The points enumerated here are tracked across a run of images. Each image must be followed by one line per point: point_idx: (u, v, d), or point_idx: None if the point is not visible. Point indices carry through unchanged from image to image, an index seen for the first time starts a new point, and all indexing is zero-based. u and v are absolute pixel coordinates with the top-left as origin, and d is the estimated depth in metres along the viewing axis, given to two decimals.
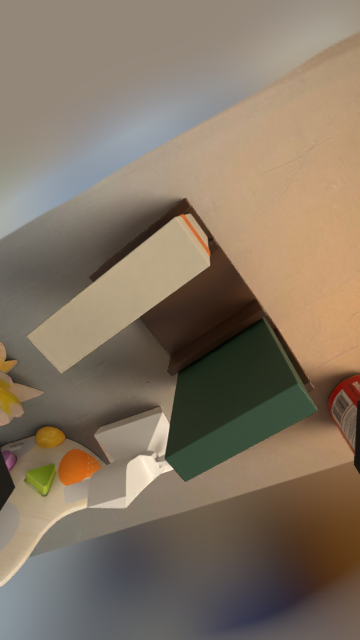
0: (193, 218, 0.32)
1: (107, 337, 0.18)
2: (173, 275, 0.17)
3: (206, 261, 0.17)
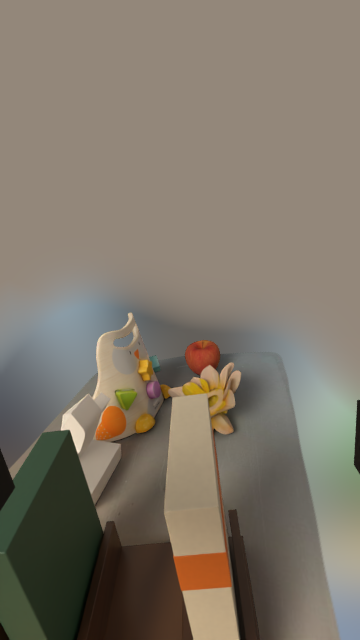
0: None
1: (171, 426, 0.24)
2: (177, 482, 0.19)
3: (168, 510, 0.17)
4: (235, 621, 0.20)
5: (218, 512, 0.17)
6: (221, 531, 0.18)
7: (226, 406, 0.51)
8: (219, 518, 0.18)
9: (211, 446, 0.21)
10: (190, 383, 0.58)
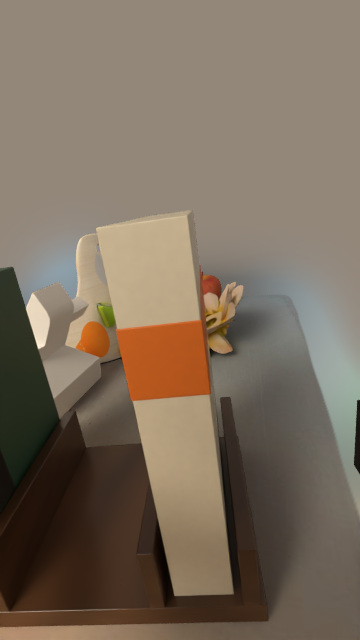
0: (219, 574, 0.15)
1: None
2: None
3: (104, 226, 0.10)
4: (216, 464, 0.13)
5: (187, 229, 0.10)
6: (193, 273, 0.11)
7: None
8: (189, 243, 0.10)
9: None
10: None
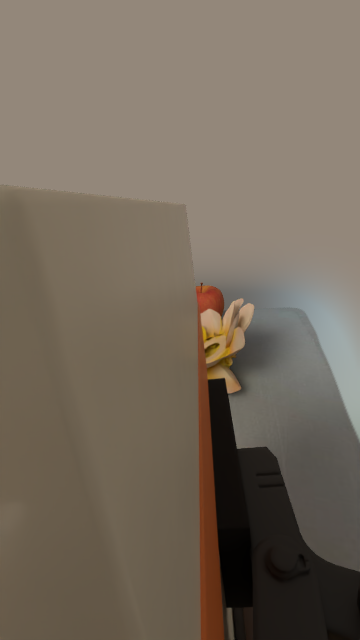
0: None
1: None
2: None
3: None
4: None
5: (41, 369, 0.01)
6: None
7: (231, 354, 0.34)
8: (81, 501, 0.01)
9: (167, 202, 0.05)
10: None
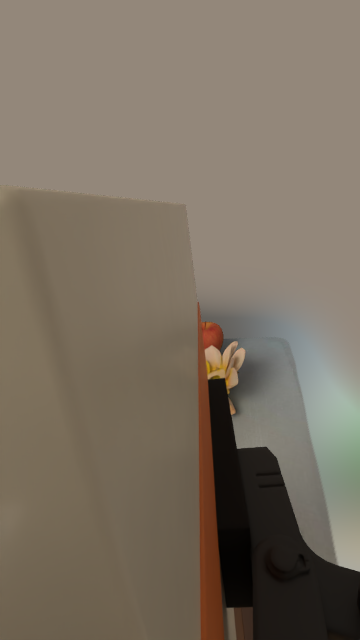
0: None
1: None
2: None
3: None
4: None
5: (41, 369, 0.01)
6: None
7: (228, 386, 0.47)
8: (81, 500, 0.01)
9: (167, 202, 0.05)
10: None
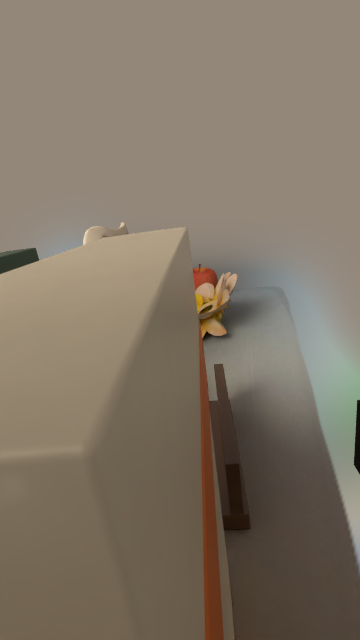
0: None
1: (67, 252, 0.08)
2: None
3: None
4: None
5: (102, 547, 0.01)
6: None
7: None
8: (126, 628, 0.01)
9: (172, 250, 0.05)
10: None
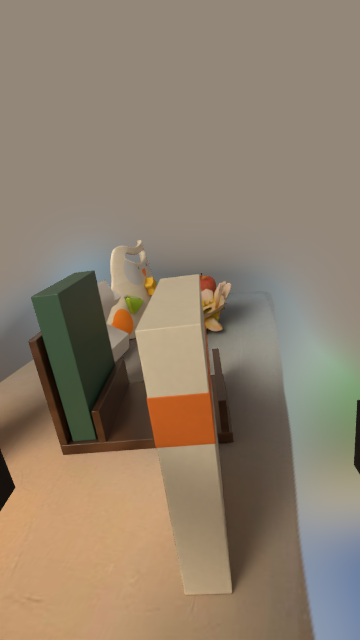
0: (220, 577, 0.20)
1: (156, 291, 0.21)
2: (155, 315, 0.16)
3: (141, 329, 0.15)
4: (219, 494, 0.17)
5: (200, 333, 0.14)
6: (204, 361, 0.15)
7: None
8: (201, 341, 0.15)
9: (198, 296, 0.19)
10: None
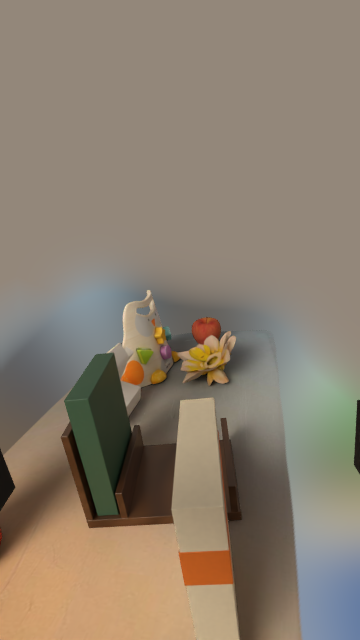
0: None
1: (179, 428, 0.25)
2: (184, 482, 0.20)
3: (176, 508, 0.18)
4: (235, 617, 0.21)
5: (223, 512, 0.18)
6: (225, 530, 0.19)
7: (223, 363, 0.65)
8: (223, 517, 0.18)
9: (217, 449, 0.22)
10: (195, 348, 0.72)
